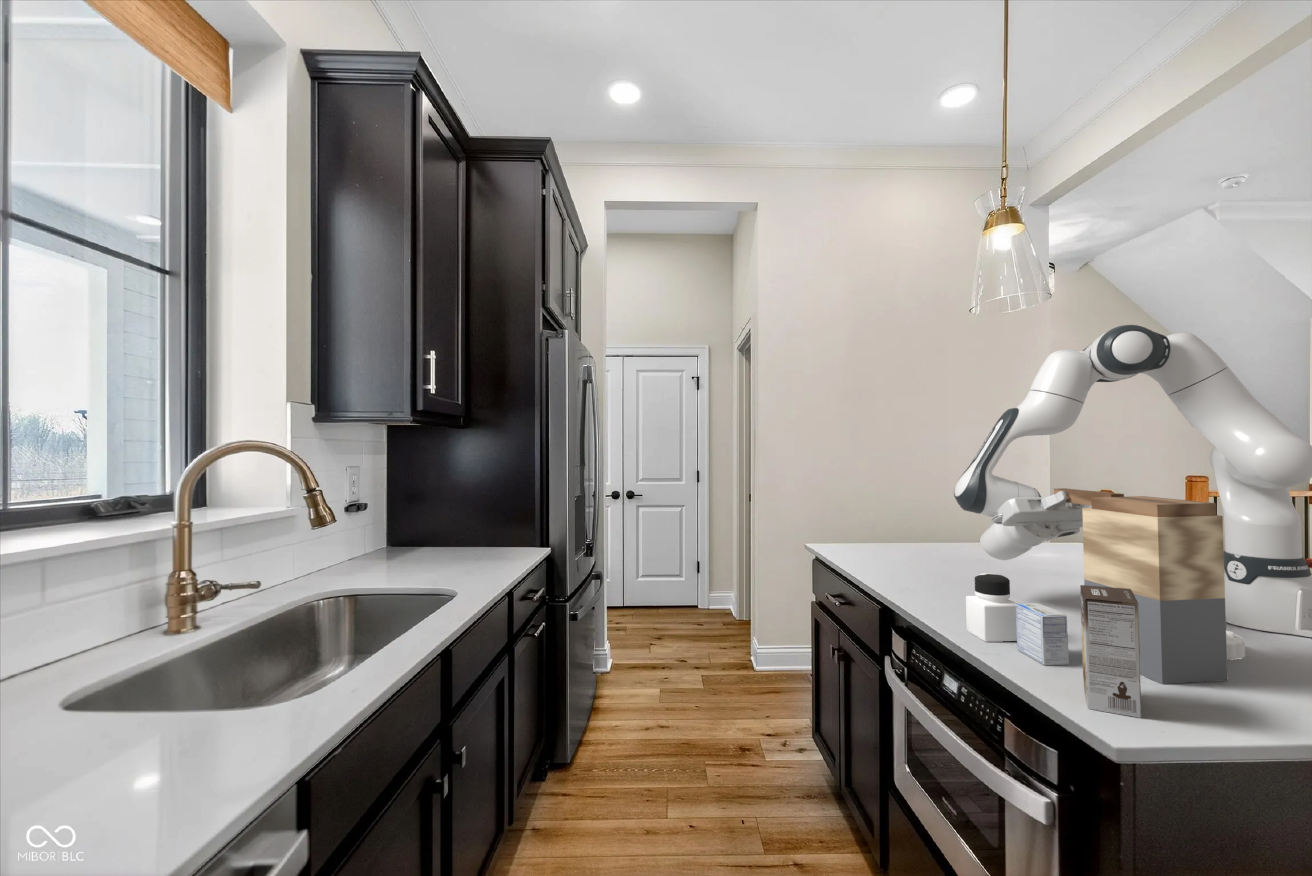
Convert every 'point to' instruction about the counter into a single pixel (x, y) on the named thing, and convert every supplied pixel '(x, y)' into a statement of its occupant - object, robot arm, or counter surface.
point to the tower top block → (1155, 554)
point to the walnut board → (1140, 504)
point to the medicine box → (1042, 633)
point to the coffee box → (1111, 650)
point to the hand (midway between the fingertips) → (1075, 494)
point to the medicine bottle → (991, 609)
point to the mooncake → (1234, 645)
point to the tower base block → (1181, 639)
